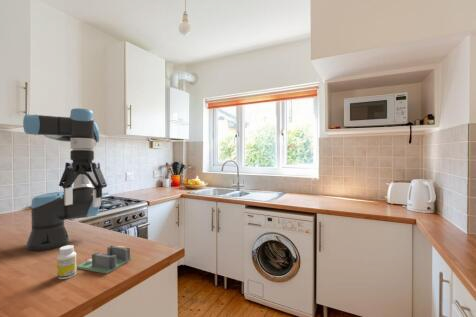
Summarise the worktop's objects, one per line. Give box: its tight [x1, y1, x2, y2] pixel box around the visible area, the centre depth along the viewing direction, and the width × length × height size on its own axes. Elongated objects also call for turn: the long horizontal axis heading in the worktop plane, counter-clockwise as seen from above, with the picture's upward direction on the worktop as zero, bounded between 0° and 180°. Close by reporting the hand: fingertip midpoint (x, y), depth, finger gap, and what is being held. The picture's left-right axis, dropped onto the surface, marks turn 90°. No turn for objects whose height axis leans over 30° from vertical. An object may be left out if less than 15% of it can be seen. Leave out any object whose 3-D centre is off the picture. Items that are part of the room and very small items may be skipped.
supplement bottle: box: [56, 244, 78, 280], centre depth 82 cm, size 5×5×10 cm
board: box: [77, 252, 133, 275], centre depth 91 cm, size 14×12×2 cm
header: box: [91, 245, 131, 269], centre depth 90 cm, size 9×10×4 cm
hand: (82, 205), depth 91 cm, fingers open, 13 cm apart
